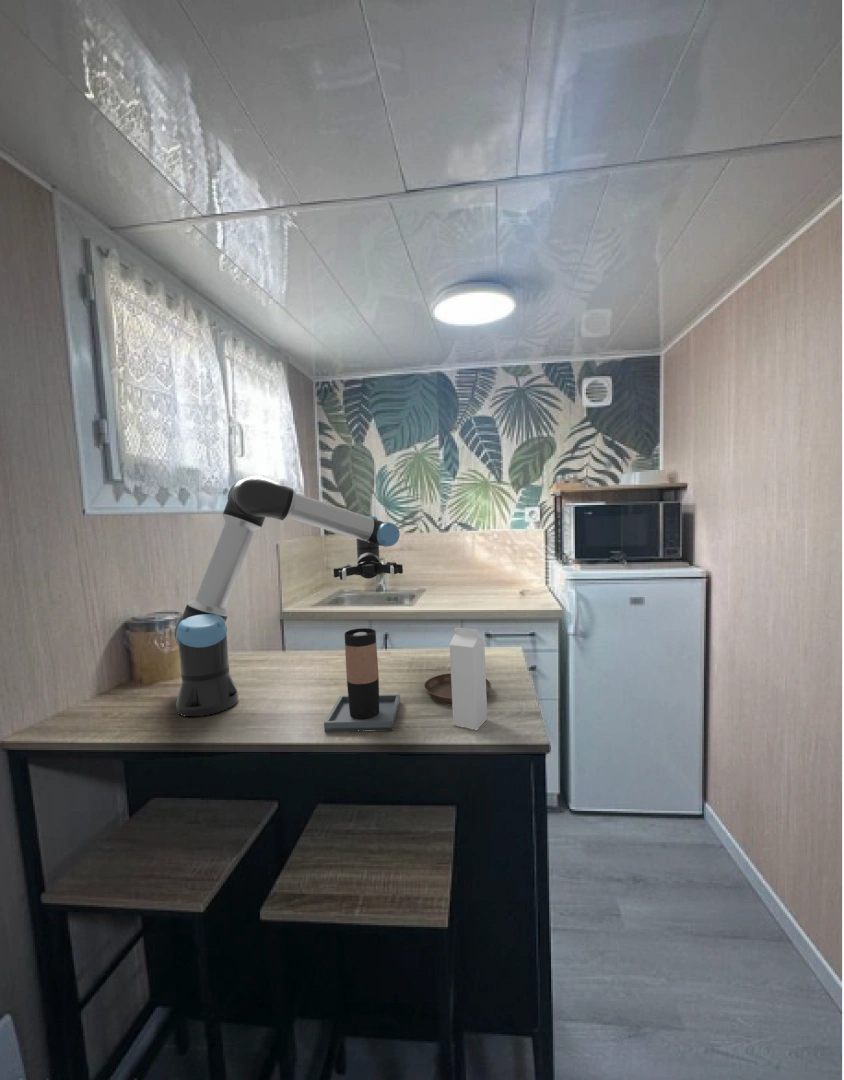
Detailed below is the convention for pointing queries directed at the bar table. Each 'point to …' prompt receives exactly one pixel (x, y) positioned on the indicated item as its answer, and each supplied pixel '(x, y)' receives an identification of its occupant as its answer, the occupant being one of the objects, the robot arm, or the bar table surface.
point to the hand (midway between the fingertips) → (368, 574)
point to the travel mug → (362, 673)
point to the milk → (468, 678)
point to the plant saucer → (443, 688)
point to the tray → (344, 722)
